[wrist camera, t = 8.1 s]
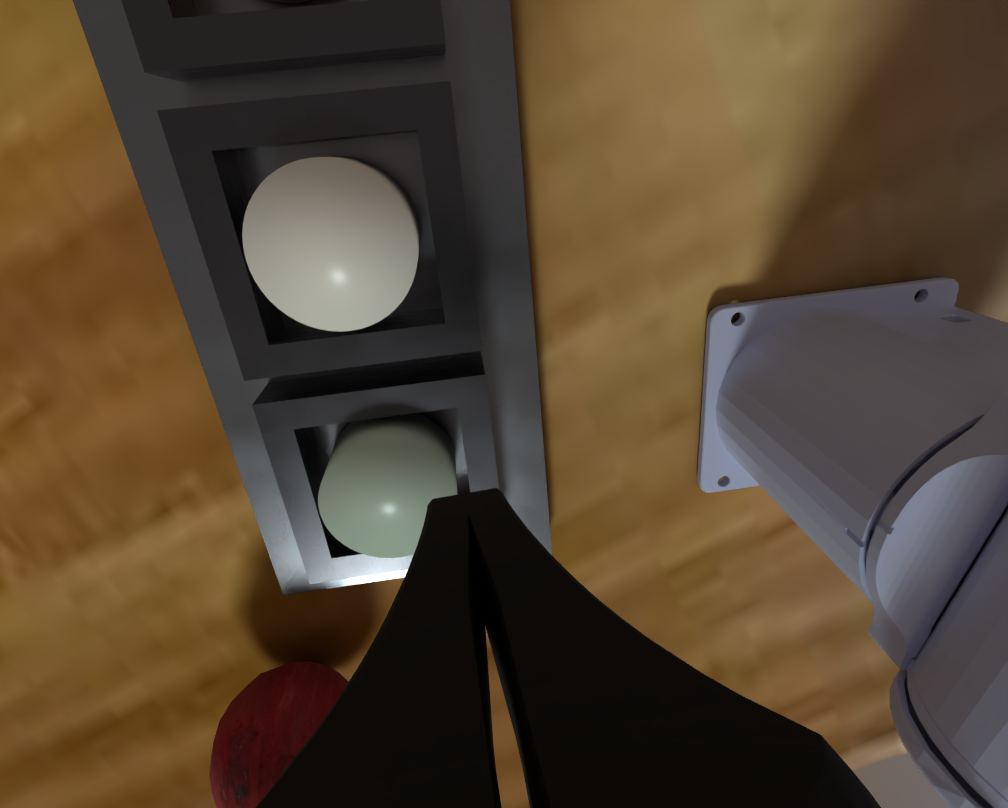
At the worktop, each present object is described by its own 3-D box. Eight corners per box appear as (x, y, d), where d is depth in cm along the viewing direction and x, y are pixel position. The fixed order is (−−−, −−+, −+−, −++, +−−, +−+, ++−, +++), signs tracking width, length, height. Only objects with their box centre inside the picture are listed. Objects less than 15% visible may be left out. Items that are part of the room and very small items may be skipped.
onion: (218, 650, 25) (126, 857, 17) (332, 602, 24) (287, 794, 17) (290, 724, 27) (236, 933, 20) (396, 681, 27) (380, 879, 19)
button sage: (446, 400, 19) (447, 434, 17) (462, 505, 21) (465, 547, 19) (318, 417, 19) (302, 453, 17) (346, 521, 21) (335, 566, 19)
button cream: (407, 147, 16) (401, 147, 14) (431, 299, 18) (429, 321, 15) (250, 164, 16) (218, 167, 13) (291, 316, 17) (269, 340, 15)
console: (471, -416, 12) (480, -573, 10) (546, 536, 24) (560, 586, 21) (-37, -391, 12) (-177, -549, 9) (290, 574, 23) (271, 630, 21)
